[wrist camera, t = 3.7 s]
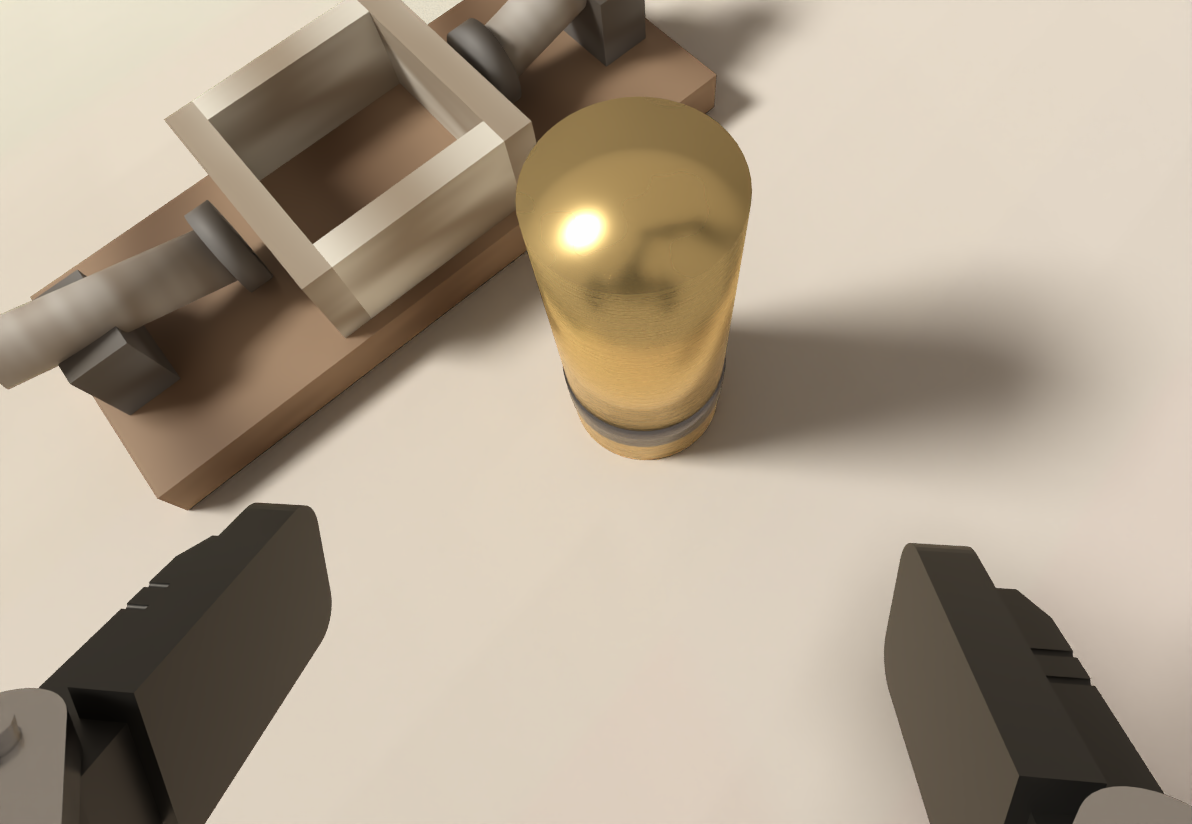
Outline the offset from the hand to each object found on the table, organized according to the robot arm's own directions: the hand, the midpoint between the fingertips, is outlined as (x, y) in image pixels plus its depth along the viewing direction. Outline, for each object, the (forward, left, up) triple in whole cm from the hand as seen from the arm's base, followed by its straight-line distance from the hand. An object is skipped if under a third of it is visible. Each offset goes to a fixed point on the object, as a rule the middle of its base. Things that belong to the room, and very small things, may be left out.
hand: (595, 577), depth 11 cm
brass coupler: (-5, -5, -11) cm, 13 cm away
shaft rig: (-3, -16, -11) cm, 20 cm away
